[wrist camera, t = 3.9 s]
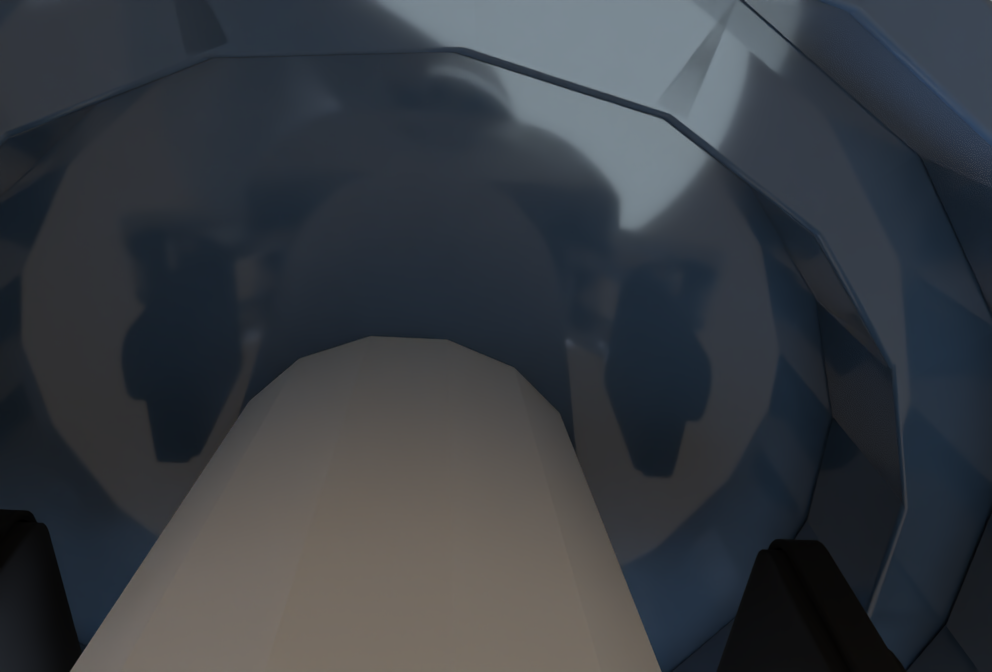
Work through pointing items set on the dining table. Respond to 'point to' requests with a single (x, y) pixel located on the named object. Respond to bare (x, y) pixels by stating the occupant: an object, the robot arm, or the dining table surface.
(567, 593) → the white cup
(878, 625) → the bowl
